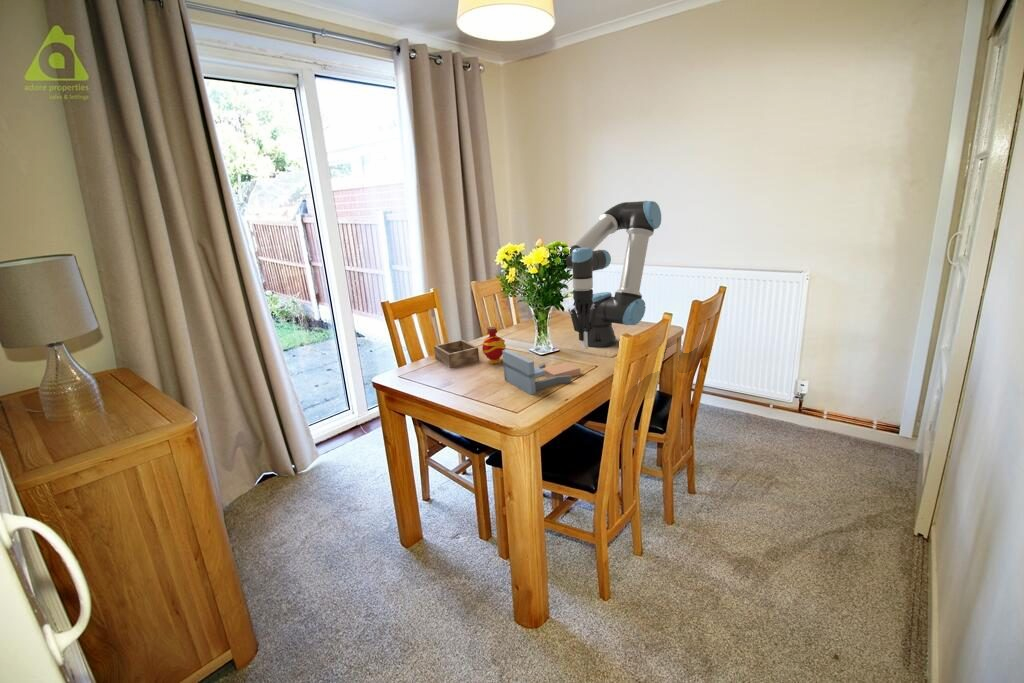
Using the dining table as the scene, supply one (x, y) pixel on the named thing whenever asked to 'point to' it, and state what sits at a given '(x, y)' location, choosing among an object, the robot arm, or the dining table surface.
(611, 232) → the robot arm
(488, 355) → the potion bottle
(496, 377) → the dining table surface
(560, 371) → the terracotta tile
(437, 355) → the walnut display tray
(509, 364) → the grey docking fixture
